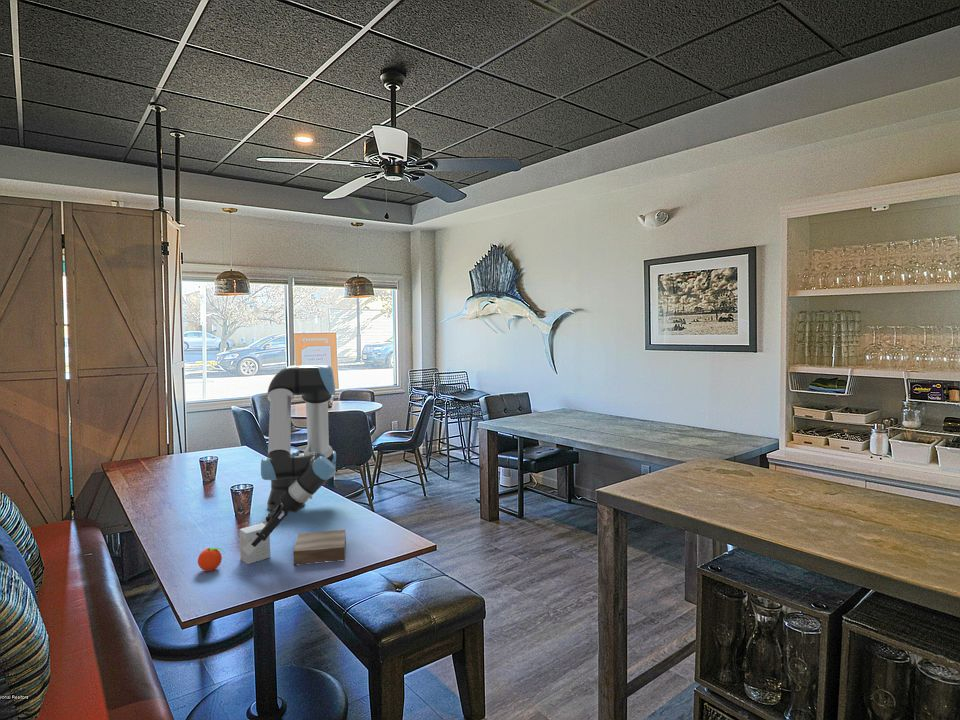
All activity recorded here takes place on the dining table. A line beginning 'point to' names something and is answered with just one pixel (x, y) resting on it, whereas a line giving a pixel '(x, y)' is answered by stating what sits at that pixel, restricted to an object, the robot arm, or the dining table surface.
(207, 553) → the clementine
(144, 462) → the dining table surface
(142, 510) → the dining table surface
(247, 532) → the small box
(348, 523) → the dining table surface
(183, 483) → the dining table surface
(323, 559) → the walnut block
